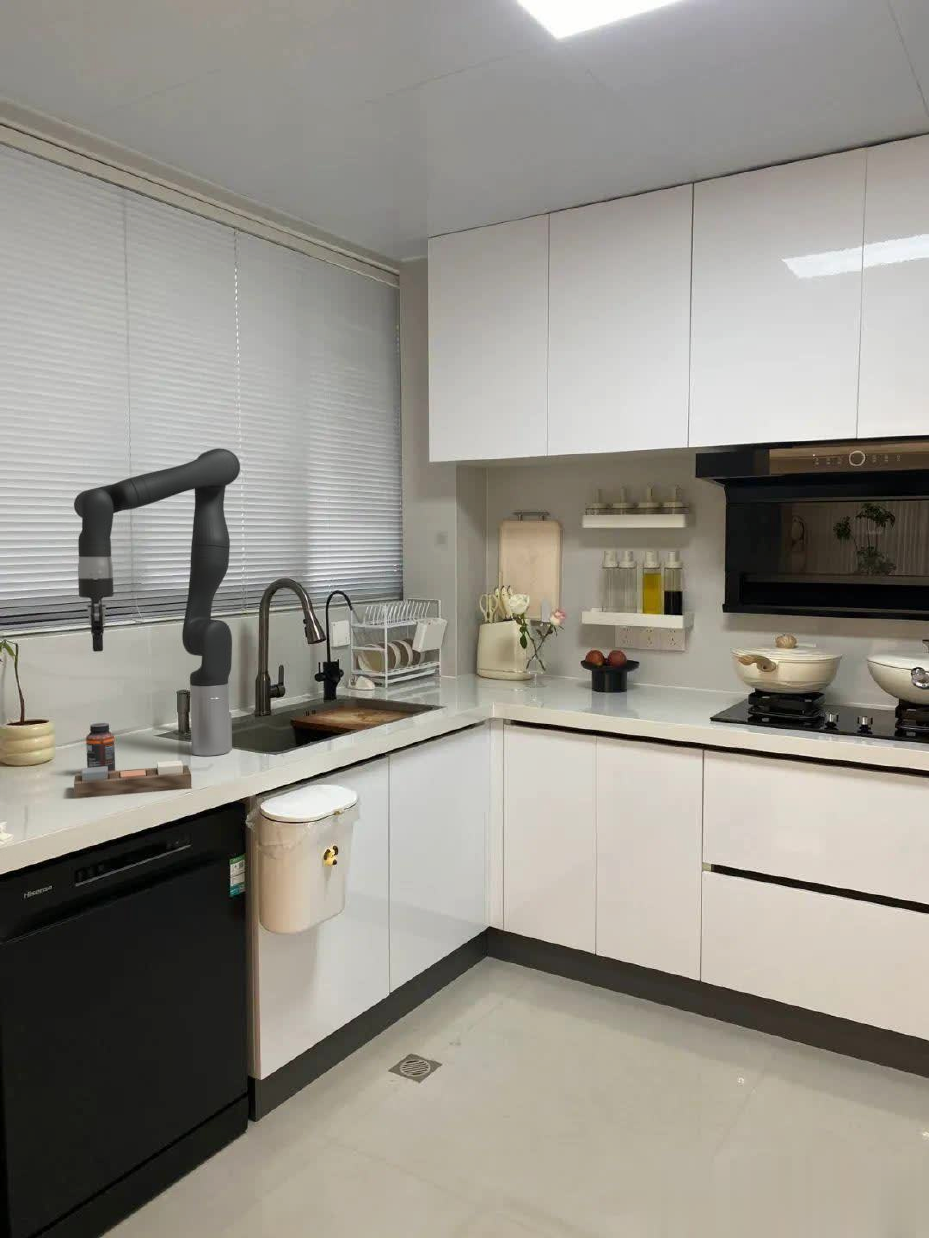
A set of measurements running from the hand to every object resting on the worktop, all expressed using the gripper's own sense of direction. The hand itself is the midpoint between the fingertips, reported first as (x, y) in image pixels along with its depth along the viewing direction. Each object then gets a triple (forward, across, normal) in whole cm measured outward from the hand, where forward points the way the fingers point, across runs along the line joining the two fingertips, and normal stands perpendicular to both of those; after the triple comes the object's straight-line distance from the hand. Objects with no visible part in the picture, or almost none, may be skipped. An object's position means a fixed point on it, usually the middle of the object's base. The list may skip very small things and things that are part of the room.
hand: (98, 651), depth 220 cm
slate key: (+25, +25, -1) cm, 35 cm away
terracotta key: (+26, +25, +6) cm, 36 cm away
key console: (+27, +25, +6) cm, 37 cm away
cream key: (+25, +25, +14) cm, 38 cm away
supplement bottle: (+27, +8, 0) cm, 28 cm away
